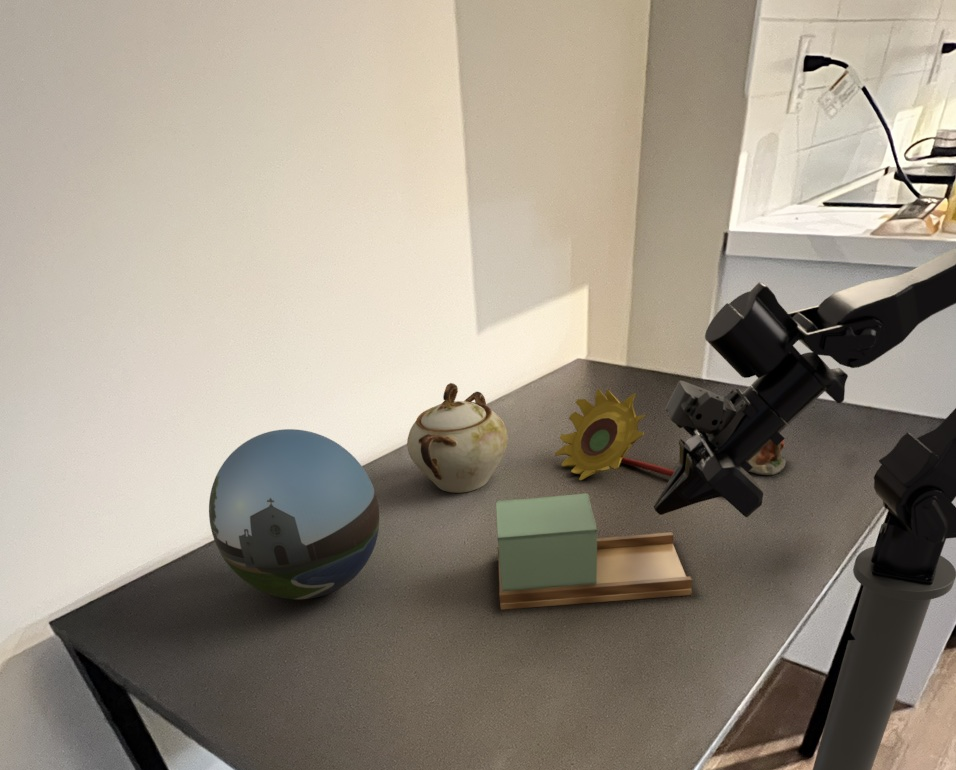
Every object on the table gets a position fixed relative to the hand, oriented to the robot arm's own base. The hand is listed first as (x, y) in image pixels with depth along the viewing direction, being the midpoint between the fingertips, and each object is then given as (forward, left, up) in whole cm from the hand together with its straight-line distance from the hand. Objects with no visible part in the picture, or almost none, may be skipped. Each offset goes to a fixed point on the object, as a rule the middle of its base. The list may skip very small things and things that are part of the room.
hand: (656, 511), depth 85 cm
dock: (+7, +4, -8) cm, 11 cm away
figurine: (-5, -32, -8) cm, 34 cm away
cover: (+11, +6, -7) cm, 15 cm away
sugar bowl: (+36, -14, -8) cm, 39 cm away
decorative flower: (+11, -24, -8) cm, 28 cm away
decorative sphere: (+38, +19, -8) cm, 43 cm away
